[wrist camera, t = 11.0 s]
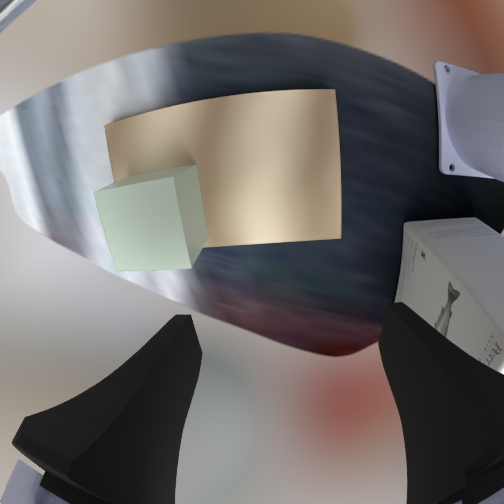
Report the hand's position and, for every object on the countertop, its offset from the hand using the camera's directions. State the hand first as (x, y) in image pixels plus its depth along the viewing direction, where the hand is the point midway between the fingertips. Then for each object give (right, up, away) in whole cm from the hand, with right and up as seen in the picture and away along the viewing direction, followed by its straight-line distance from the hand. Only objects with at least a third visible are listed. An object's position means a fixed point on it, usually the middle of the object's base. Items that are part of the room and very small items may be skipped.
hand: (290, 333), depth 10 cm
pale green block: (-7, +6, +7) cm, 11 cm away
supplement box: (+13, +2, +9) cm, 16 cm away
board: (-3, +8, +7) cm, 11 cm away
